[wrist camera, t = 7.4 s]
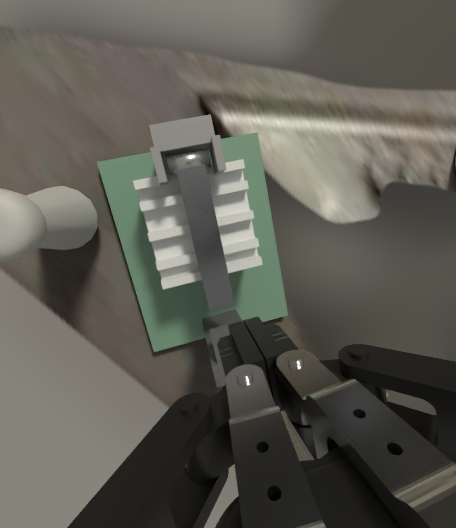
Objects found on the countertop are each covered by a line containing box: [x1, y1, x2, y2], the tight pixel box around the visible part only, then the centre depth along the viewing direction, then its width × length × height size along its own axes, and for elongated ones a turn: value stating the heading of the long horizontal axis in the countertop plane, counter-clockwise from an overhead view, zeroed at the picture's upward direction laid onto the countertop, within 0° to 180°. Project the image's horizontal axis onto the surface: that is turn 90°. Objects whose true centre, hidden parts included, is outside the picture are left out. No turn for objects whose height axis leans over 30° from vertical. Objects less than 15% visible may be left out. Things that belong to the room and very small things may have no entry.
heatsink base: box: [97, 115, 288, 352], centre depth 26 cm, size 16×21×10 cm
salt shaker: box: [0, 186, 98, 261], centre depth 22 cm, size 6×6×13 cm
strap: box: [166, 148, 235, 312], centre depth 22 cm, size 3×13×1 cm, turn 12°
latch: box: [202, 310, 243, 388], centre depth 27 cm, size 4×5×10 cm
